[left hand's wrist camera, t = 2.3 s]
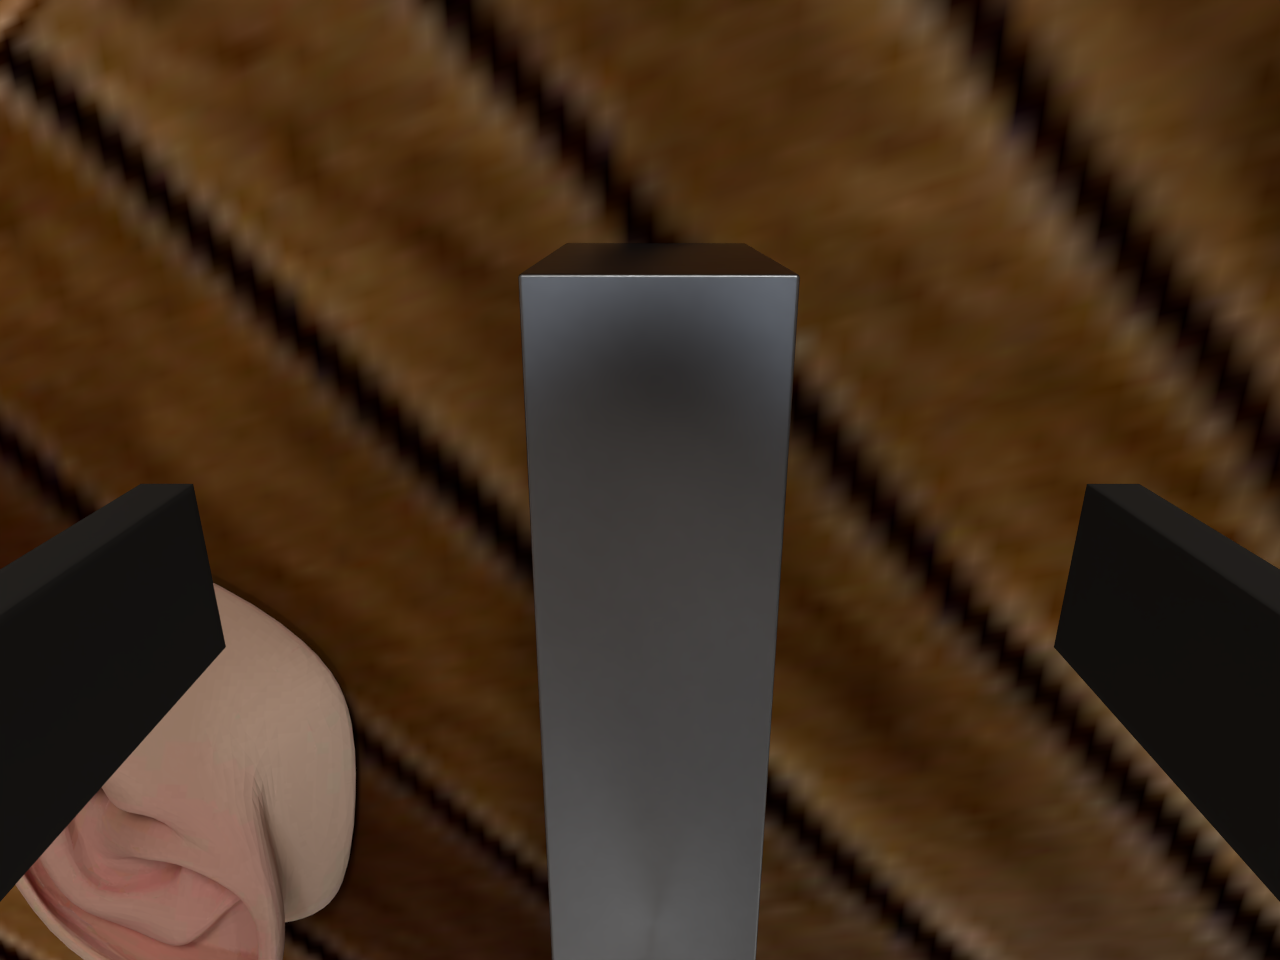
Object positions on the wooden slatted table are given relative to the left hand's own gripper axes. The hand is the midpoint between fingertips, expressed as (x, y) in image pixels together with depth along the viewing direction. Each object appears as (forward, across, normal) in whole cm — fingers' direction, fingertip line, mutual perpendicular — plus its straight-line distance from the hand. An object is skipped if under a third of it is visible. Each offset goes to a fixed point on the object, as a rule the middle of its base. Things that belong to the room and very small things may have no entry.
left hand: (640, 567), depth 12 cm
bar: (+10, 0, -10) cm, 14 cm away
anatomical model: (+10, -14, -12) cm, 21 cm away
